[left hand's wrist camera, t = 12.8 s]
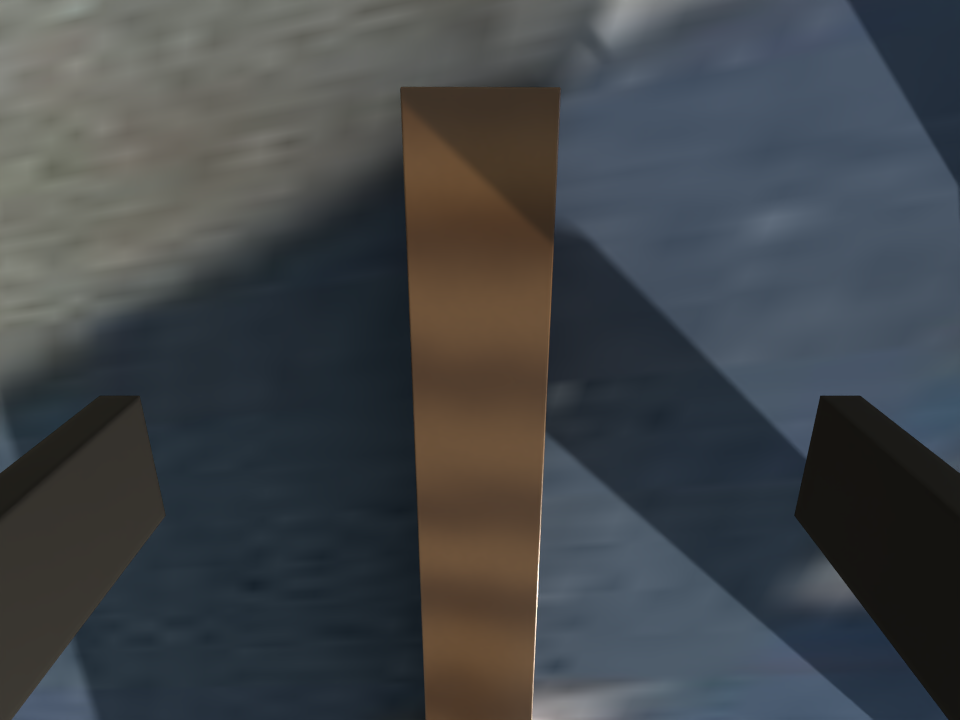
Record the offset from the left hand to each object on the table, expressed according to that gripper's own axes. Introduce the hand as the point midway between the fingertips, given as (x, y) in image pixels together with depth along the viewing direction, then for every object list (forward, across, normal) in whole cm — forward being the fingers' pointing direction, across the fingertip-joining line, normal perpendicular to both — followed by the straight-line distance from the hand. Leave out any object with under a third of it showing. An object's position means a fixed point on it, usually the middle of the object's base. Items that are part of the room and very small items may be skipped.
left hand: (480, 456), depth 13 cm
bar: (+19, 0, -31) cm, 36 cm away
